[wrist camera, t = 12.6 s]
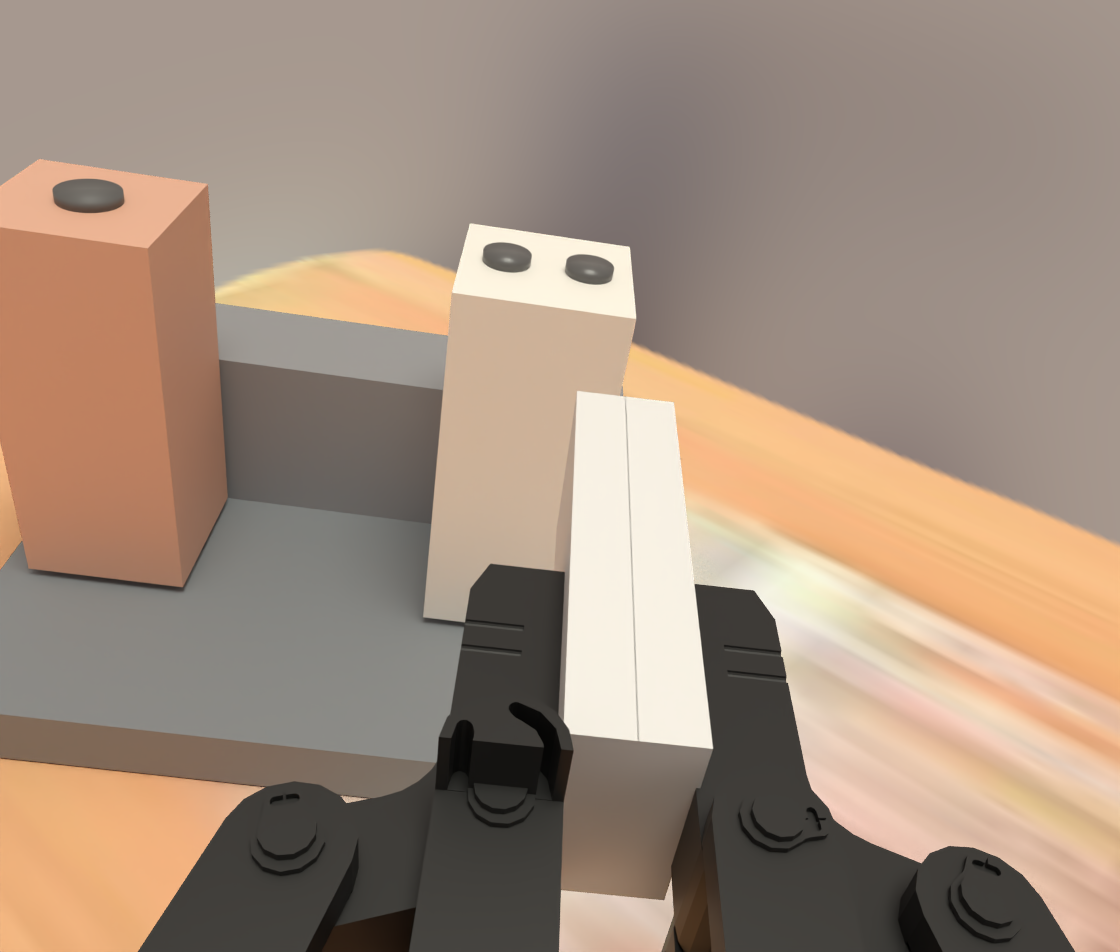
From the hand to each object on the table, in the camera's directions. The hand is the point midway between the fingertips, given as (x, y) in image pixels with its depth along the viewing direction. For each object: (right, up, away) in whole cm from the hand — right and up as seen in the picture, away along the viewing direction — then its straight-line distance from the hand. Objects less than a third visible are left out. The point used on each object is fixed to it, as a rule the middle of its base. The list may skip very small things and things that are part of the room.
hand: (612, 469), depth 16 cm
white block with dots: (-3, -4, +20) cm, 20 cm away
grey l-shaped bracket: (-10, -5, +20) cm, 23 cm away
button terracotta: (-16, -2, +19) cm, 25 cm away
